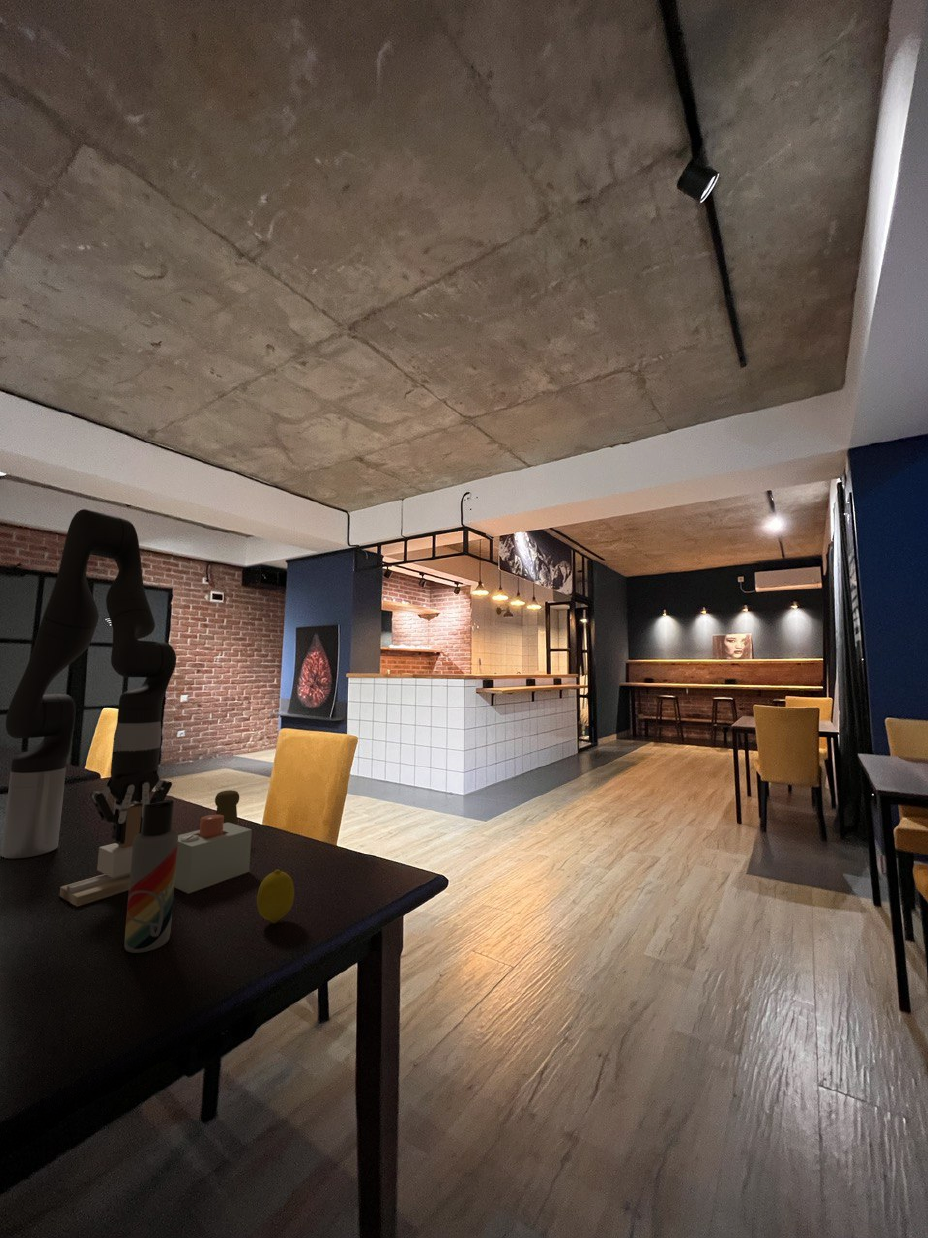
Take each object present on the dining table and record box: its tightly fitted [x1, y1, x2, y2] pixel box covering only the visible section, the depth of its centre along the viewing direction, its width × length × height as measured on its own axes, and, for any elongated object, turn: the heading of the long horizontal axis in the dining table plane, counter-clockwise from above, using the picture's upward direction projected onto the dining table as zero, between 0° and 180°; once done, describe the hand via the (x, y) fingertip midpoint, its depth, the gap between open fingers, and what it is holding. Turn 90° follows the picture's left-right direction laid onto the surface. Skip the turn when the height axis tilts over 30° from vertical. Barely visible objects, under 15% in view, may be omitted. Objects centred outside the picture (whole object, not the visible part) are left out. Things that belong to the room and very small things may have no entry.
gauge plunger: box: [199, 814, 224, 839], centre depth 96 cm, size 4×4×6 cm
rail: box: [58, 873, 130, 907], centre depth 95 cm, size 7×25×4 cm, turn 148°
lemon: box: [256, 869, 295, 924], centre depth 79 cm, size 6×6×8 cm
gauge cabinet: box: [174, 823, 253, 895], centre depth 96 cm, size 8×12×8 cm, turn 148°
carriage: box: [96, 803, 142, 878], centre depth 92 cm, size 6×7×11 cm
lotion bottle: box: [123, 799, 179, 954], centre depth 73 cm, size 6×6×20 cm
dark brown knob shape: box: [214, 789, 240, 826], centre depth 116 cm, size 6×6×11 cm
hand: (128, 840), depth 92 cm, fingers closed on carriage, 2 cm apart
